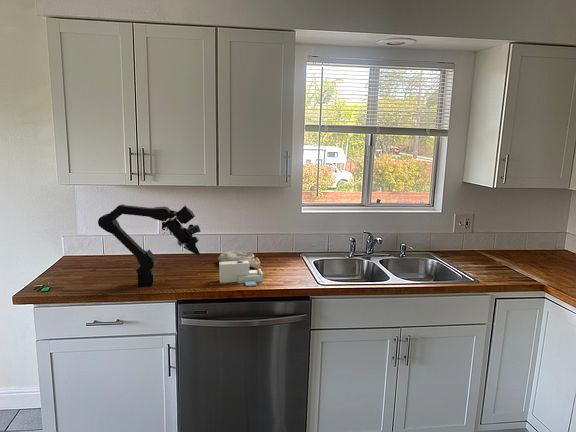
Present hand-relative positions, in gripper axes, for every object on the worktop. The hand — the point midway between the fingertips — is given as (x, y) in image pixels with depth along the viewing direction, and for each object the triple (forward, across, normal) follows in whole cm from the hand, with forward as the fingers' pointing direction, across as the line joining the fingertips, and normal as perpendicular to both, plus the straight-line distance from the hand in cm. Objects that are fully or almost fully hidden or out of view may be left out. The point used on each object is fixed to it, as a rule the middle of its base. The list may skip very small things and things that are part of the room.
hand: (199, 254), depth 198 cm
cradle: (+25, -4, -9) cm, 27 cm away
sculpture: (+25, +19, -14) cm, 35 cm away
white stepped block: (+22, -3, -6) cm, 23 cm away
